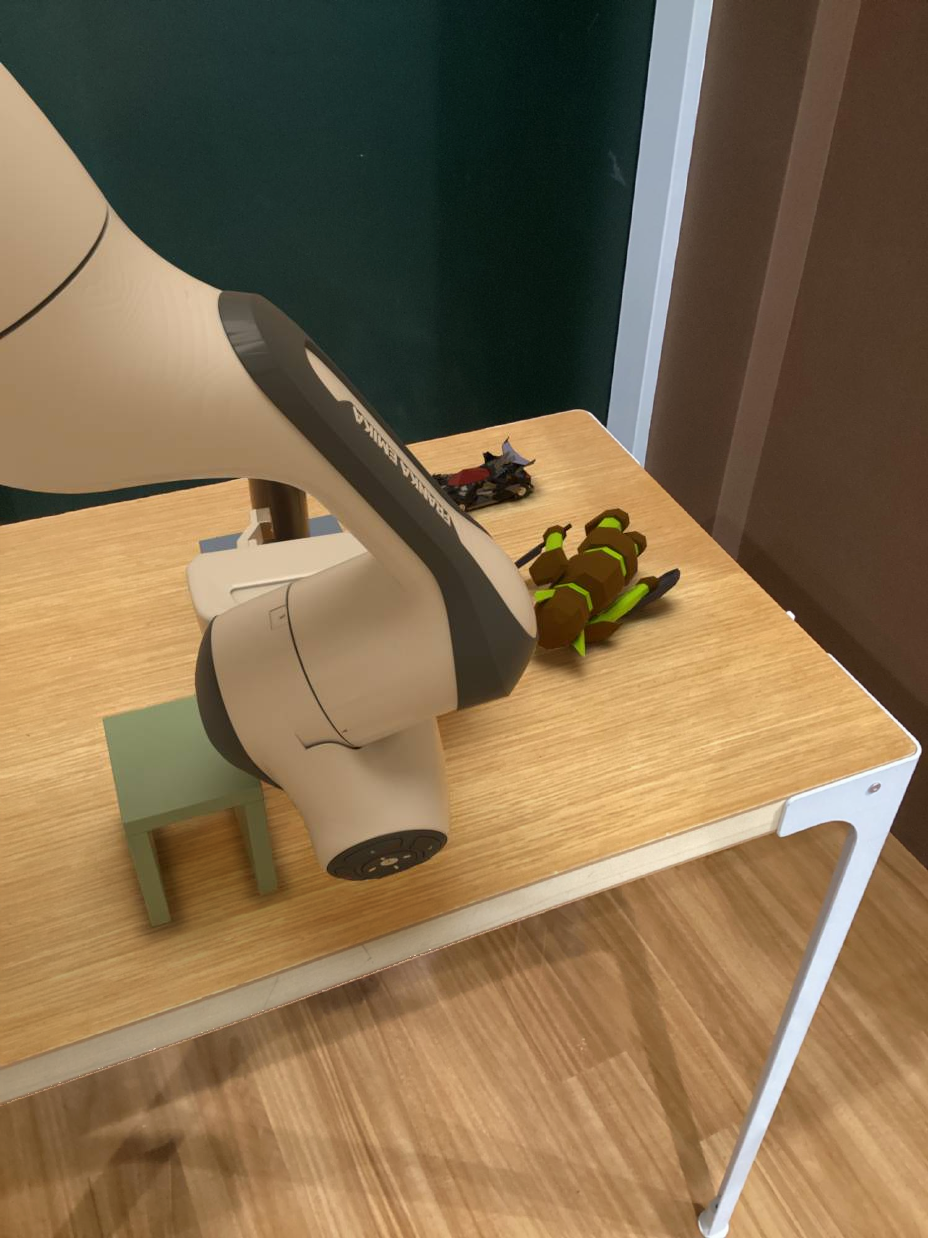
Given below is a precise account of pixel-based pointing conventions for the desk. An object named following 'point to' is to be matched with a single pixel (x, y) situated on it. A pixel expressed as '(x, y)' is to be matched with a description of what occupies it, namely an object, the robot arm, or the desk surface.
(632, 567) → the goblin
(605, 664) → the desk surface
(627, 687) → the desk surface
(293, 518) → the glossy brown cylinder
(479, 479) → the toy car
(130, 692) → the desk surface
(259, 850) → the sage green stool
